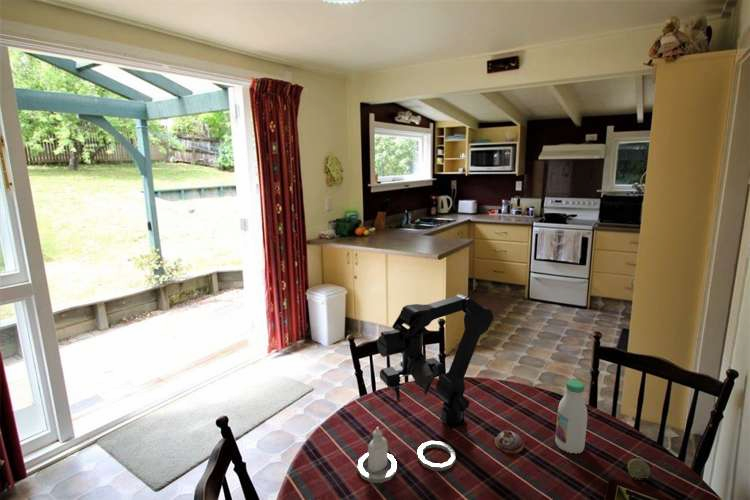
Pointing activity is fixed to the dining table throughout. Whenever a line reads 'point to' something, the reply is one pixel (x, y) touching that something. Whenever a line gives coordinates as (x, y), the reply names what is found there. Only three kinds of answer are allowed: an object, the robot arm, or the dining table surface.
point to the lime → (638, 468)
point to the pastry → (509, 442)
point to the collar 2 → (433, 465)
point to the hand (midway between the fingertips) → (411, 397)
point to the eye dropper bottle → (377, 452)
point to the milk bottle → (572, 419)
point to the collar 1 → (378, 476)
